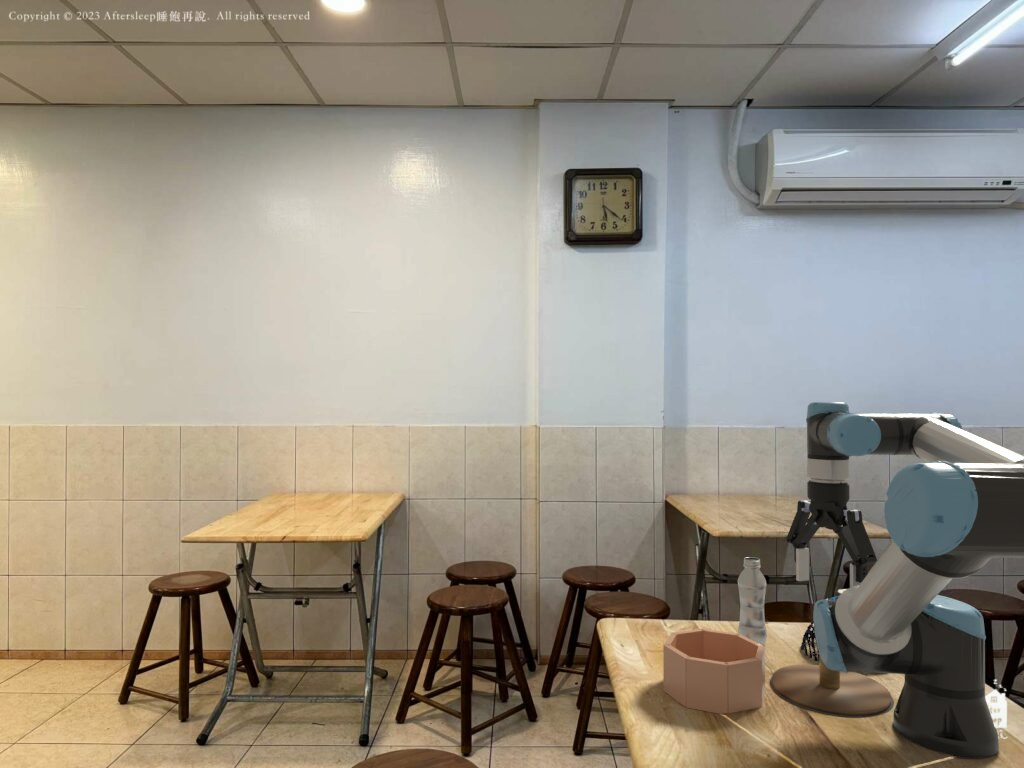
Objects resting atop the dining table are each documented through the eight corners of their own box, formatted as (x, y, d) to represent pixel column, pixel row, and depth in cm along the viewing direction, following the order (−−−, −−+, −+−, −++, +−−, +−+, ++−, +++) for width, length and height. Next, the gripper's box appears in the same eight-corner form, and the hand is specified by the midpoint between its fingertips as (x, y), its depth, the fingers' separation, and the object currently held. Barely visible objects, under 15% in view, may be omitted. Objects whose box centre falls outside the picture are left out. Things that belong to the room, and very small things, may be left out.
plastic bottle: (769, 643, 161) (769, 557, 161) (764, 652, 155) (763, 563, 155) (741, 638, 164) (740, 554, 164) (734, 647, 158) (734, 560, 158)
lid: (917, 705, 128) (917, 645, 128) (829, 723, 120) (829, 660, 121) (829, 663, 147) (829, 612, 148) (749, 677, 140) (749, 623, 140)
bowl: (784, 704, 129) (784, 656, 129) (703, 720, 122) (703, 669, 123) (723, 668, 146) (723, 625, 146) (648, 680, 139) (648, 635, 140)
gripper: (897, 487, 124) (898, 605, 124) (796, 473, 148) (796, 572, 147) (866, 489, 122) (867, 609, 121) (768, 474, 145) (768, 575, 145)
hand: (828, 589), depth 134 cm, fingers open, 13 cm apart
